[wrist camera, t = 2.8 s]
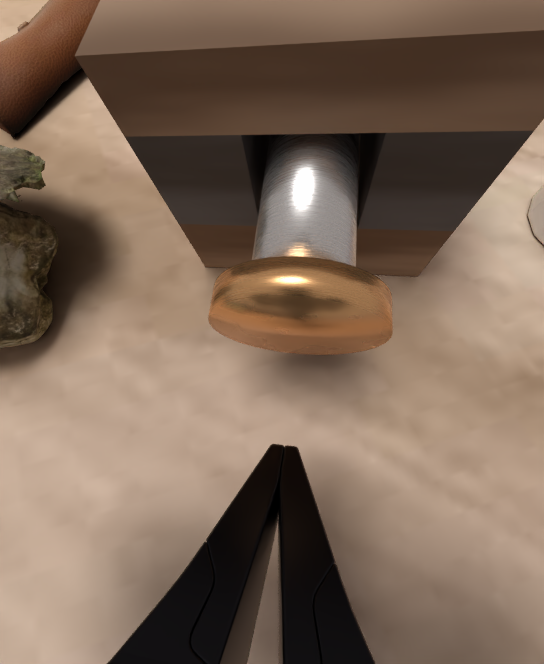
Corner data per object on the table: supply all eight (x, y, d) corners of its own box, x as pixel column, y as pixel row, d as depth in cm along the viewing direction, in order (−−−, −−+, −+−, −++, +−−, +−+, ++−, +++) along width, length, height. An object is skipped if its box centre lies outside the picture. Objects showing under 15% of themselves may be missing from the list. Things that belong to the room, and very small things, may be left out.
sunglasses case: (88, 3, 31) (67, -79, 25) (145, 58, 33) (139, -6, 27) (-37, 112, 28) (-97, 48, 21) (35, 166, 30) (0, 121, 23)
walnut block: (417, 276, 18) (617, 26, 7) (205, 266, 20) (74, 55, 8) (411, 134, 21) (534, -191, 10) (230, 136, 23) (163, -138, 12)
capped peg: (368, 359, 13) (427, 304, 7) (232, 348, 14) (177, 290, 8) (369, 153, 17) (409, -3, 10) (261, 154, 17) (239, 10, 11)
